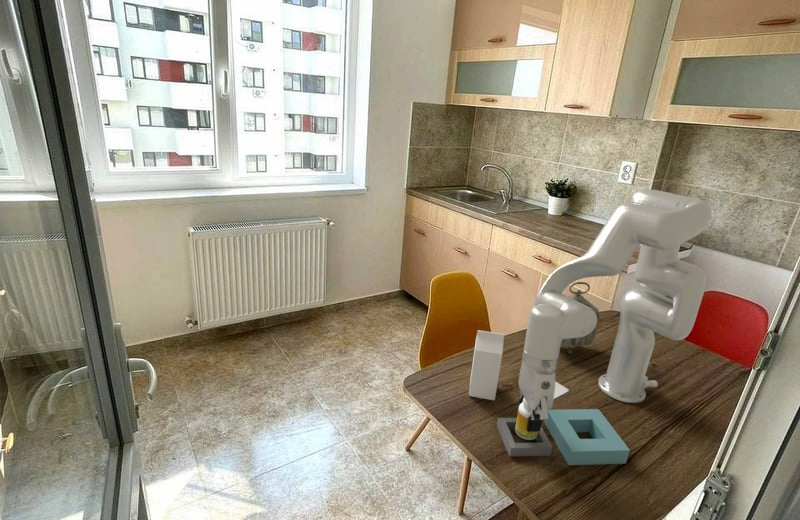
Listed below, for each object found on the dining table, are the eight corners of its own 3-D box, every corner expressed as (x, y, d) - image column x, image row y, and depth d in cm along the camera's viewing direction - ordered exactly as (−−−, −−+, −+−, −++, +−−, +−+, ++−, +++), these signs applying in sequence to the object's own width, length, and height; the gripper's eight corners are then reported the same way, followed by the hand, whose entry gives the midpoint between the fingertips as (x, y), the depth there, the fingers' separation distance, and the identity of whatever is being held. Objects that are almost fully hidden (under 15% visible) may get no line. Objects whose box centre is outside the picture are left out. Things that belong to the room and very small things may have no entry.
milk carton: (494, 401, 120) (504, 341, 113) (468, 396, 121) (477, 336, 114) (494, 385, 126) (504, 328, 120) (470, 381, 127) (478, 324, 121)
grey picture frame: (534, 425, 112) (536, 417, 111) (550, 455, 102) (552, 447, 101) (496, 425, 111) (498, 417, 110) (509, 456, 101) (511, 448, 100)
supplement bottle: (526, 443, 103) (533, 410, 99) (510, 429, 107) (515, 397, 103) (542, 435, 105) (548, 402, 102) (525, 421, 110) (531, 390, 106)
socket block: (595, 421, 114) (598, 409, 113) (625, 463, 101) (630, 450, 100) (544, 422, 113) (546, 409, 111) (568, 465, 100) (572, 451, 98)
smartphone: (517, 394, 123) (550, 377, 131) (516, 395, 123) (549, 379, 132) (537, 408, 118) (570, 390, 126) (537, 409, 118) (570, 391, 126)
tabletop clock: (579, 342, 152) (594, 277, 143) (593, 357, 144) (610, 288, 135) (540, 343, 150) (553, 276, 141) (552, 358, 142) (567, 288, 133)
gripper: (573, 381, 91) (558, 448, 97) (541, 337, 107) (530, 397, 113) (538, 382, 90) (525, 449, 97) (511, 337, 106) (502, 398, 112)
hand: (528, 420), depth 105 cm, fingers closed on supplement bottle, 5 cm apart
